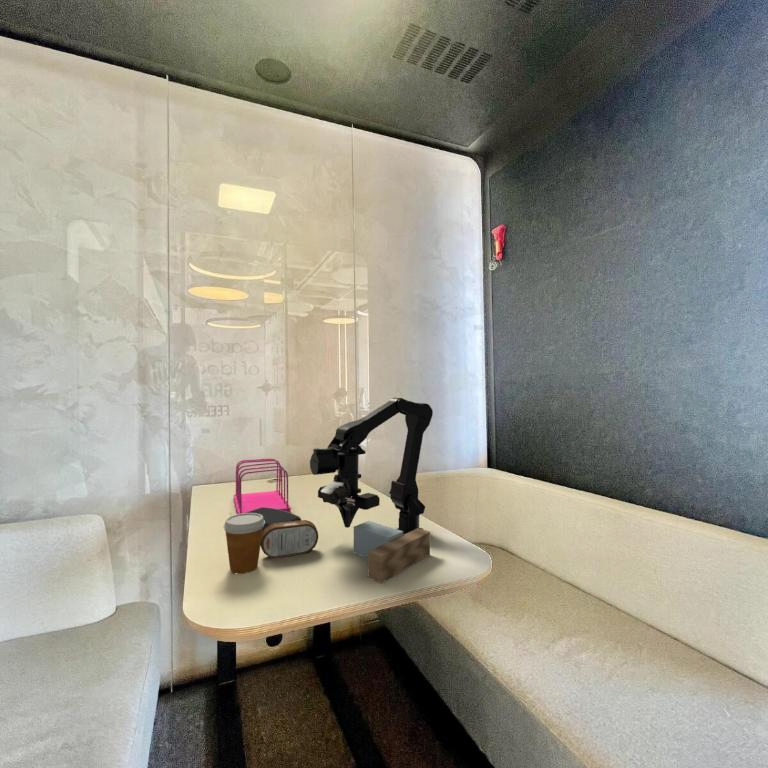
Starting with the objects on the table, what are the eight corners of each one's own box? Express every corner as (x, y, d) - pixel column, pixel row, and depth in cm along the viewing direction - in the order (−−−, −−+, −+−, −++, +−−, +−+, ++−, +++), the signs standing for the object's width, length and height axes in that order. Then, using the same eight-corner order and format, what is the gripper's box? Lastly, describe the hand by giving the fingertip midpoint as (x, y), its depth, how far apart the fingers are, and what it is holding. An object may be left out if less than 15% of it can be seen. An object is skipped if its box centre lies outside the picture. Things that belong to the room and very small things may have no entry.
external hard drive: (264, 516, 135) (264, 504, 135) (305, 527, 125) (305, 514, 125) (231, 527, 124) (231, 514, 124) (273, 541, 114) (273, 526, 114)
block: (368, 545, 110) (368, 520, 110) (402, 558, 103) (403, 531, 103) (353, 552, 106) (353, 526, 106) (388, 566, 98) (388, 537, 98)
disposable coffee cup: (216, 567, 96) (216, 518, 96) (253, 556, 103) (253, 509, 103) (233, 581, 89) (233, 528, 89) (271, 568, 96) (272, 518, 96)
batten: (417, 550, 107) (417, 528, 107) (429, 554, 105) (430, 531, 105) (368, 577, 92) (368, 551, 92) (381, 583, 89) (381, 556, 89)
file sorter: (238, 519, 131) (238, 471, 131) (233, 499, 154) (233, 458, 154) (290, 512, 138) (291, 467, 138) (279, 494, 161) (279, 456, 161)
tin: (316, 548, 108) (317, 517, 108) (319, 552, 105) (319, 520, 105) (259, 556, 103) (259, 524, 103) (260, 561, 100) (260, 528, 100)
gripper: (303, 470, 110) (302, 527, 109) (352, 481, 98) (352, 544, 98) (332, 464, 118) (331, 517, 118) (381, 474, 107) (380, 532, 107)
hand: (347, 527), depth 110 cm, fingers closed
